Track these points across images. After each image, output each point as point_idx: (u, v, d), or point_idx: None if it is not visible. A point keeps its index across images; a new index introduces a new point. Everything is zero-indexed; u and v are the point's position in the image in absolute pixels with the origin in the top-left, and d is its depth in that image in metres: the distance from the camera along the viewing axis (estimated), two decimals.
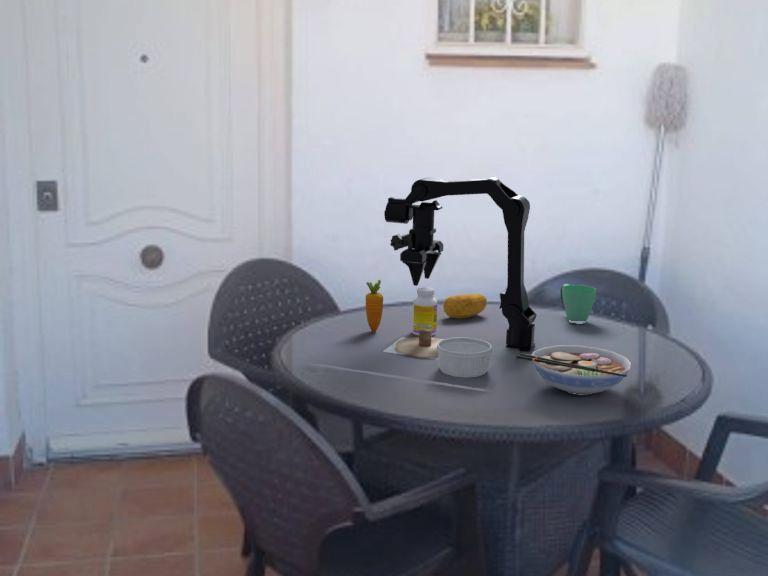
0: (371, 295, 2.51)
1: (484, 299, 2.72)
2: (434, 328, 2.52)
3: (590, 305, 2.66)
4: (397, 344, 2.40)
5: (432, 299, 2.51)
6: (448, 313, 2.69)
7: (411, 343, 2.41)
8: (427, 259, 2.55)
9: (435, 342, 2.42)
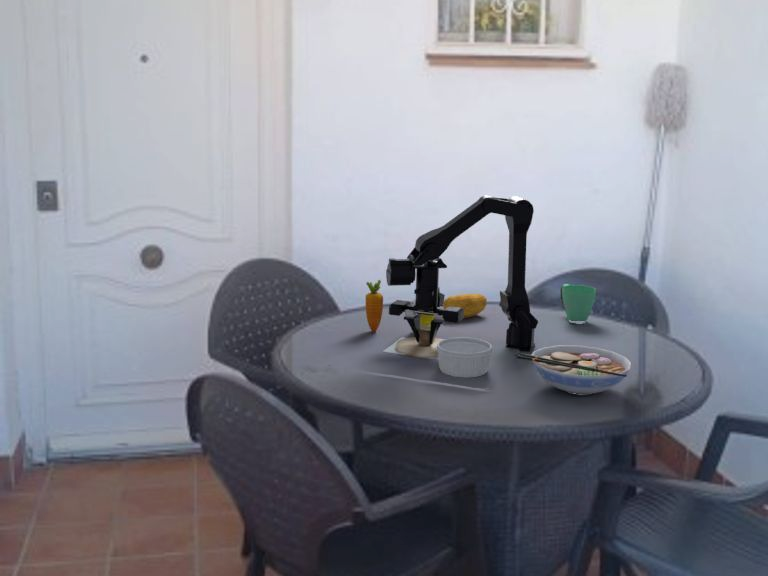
0: (371, 295, 2.51)
1: (484, 299, 2.72)
2: None
3: (590, 305, 2.66)
4: (397, 344, 2.40)
5: None
6: None
7: (411, 343, 2.41)
8: None
9: (435, 342, 2.42)
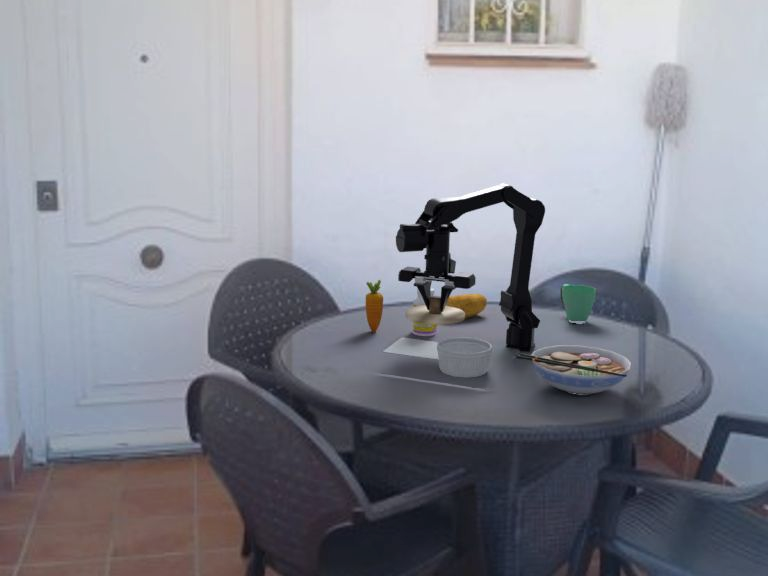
0: (371, 295, 2.51)
1: (484, 299, 2.72)
2: (434, 328, 2.52)
3: (590, 305, 2.66)
4: (407, 311, 2.34)
5: None
6: None
7: (421, 311, 2.35)
8: None
9: (445, 310, 2.36)
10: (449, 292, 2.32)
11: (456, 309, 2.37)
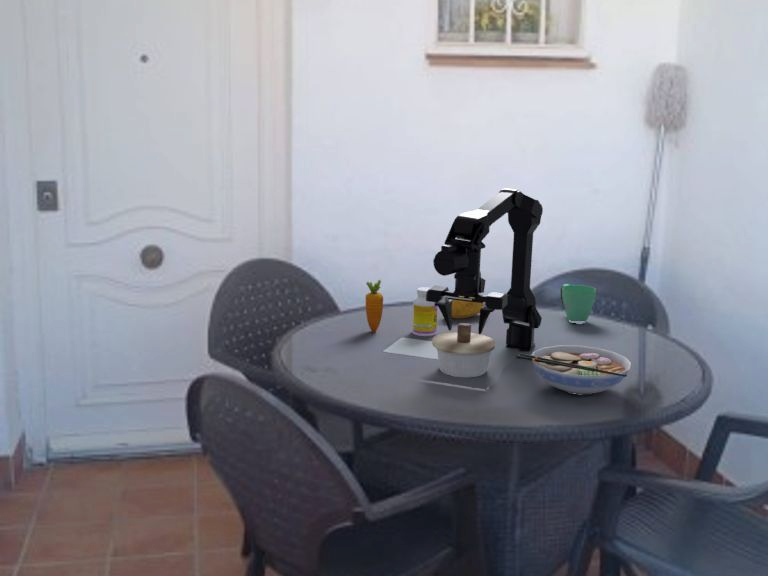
0: (371, 295, 2.51)
1: None
2: (434, 328, 2.52)
3: (590, 305, 2.66)
4: (434, 339, 2.23)
5: None
6: None
7: (449, 339, 2.24)
8: None
9: (474, 338, 2.25)
10: (487, 314, 2.20)
11: (485, 337, 2.26)
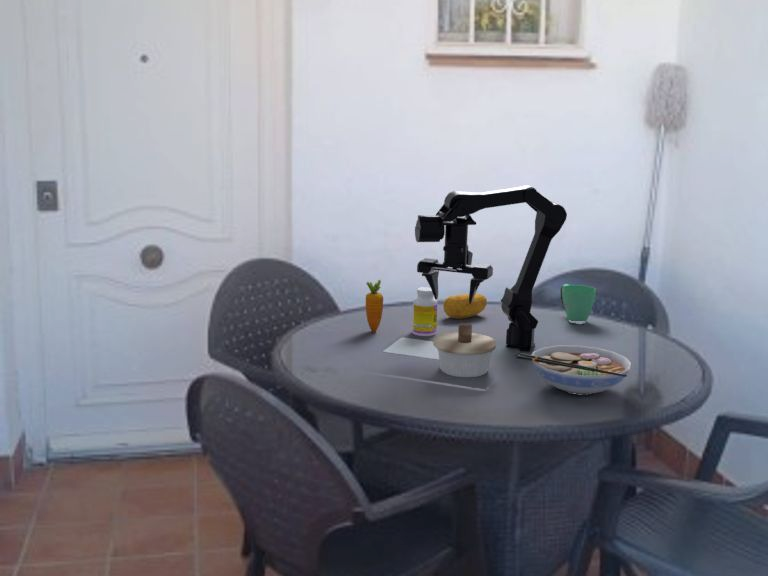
0: (371, 295, 2.51)
1: (484, 299, 2.72)
2: (434, 328, 2.52)
3: (590, 305, 2.66)
4: (435, 339, 2.23)
5: (432, 299, 2.51)
6: (448, 313, 2.69)
7: (450, 338, 2.24)
8: None
9: (476, 338, 2.25)
10: (477, 284, 2.36)
11: (487, 337, 2.26)
